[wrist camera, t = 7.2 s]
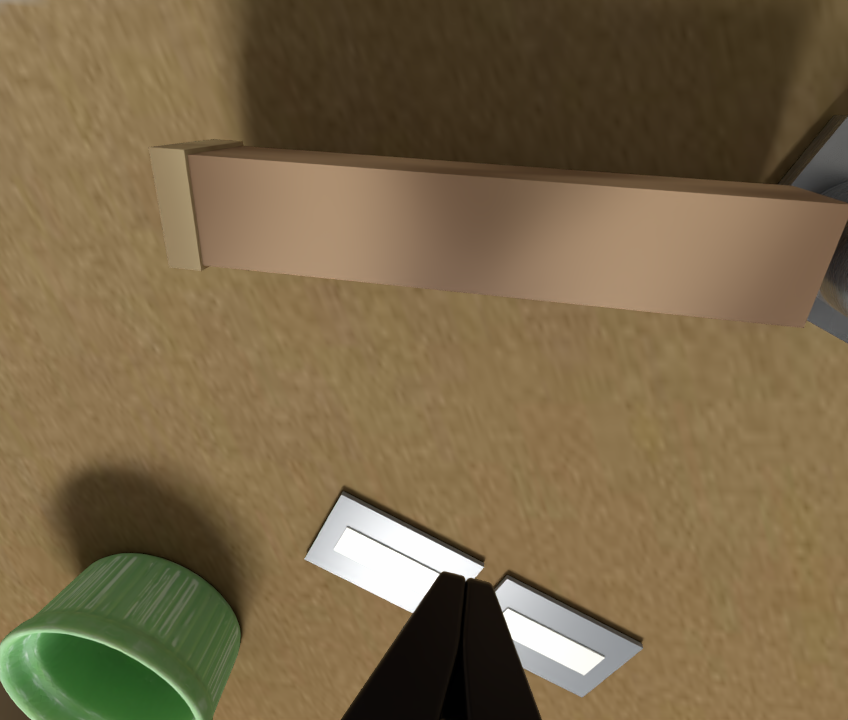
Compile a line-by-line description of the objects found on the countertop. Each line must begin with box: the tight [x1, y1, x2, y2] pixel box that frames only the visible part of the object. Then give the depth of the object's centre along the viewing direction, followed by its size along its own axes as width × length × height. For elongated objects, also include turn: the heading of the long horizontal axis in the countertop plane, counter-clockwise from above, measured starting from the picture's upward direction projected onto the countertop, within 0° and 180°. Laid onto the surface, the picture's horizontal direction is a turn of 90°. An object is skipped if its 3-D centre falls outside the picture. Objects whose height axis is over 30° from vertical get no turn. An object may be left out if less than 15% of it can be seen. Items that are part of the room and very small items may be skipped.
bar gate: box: [149, 139, 848, 328], centre depth 12 cm, size 14×3×3 cm, turn 87°
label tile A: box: [494, 575, 643, 697], centre depth 21 cm, size 6×4×1 cm, turn 63°
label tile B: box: [305, 491, 484, 613], centre depth 21 cm, size 6×4×1 cm, turn 63°
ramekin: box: [0, 553, 241, 720], centre depth 23 cm, size 9×9×4 cm
